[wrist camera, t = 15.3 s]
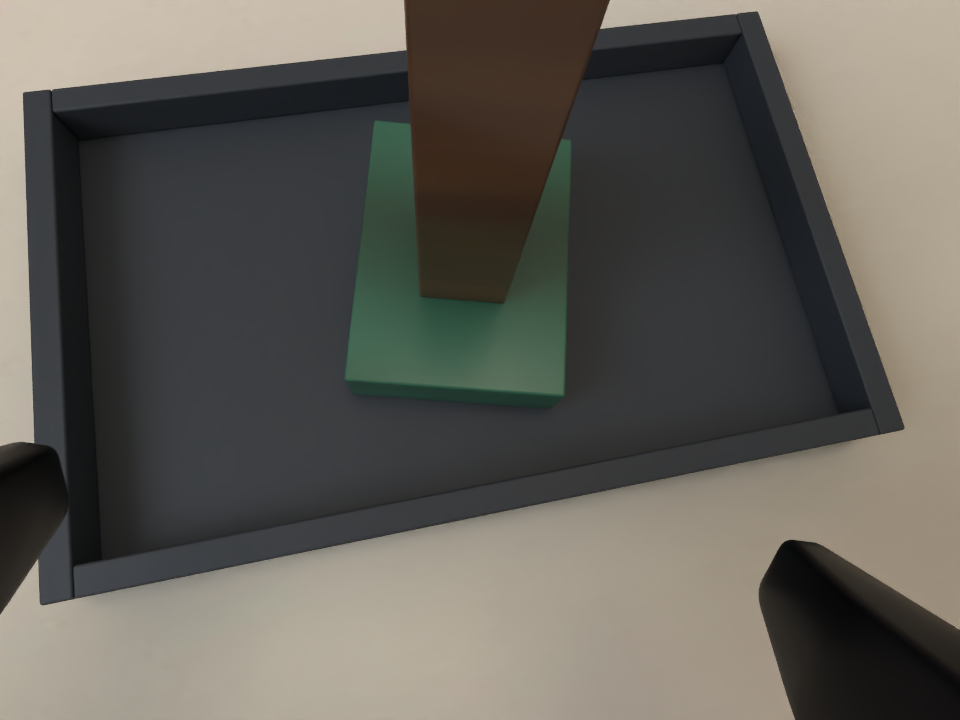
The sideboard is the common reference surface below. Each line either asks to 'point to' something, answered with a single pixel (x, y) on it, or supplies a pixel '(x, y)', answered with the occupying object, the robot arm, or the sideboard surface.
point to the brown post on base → (473, 208)
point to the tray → (330, 291)
